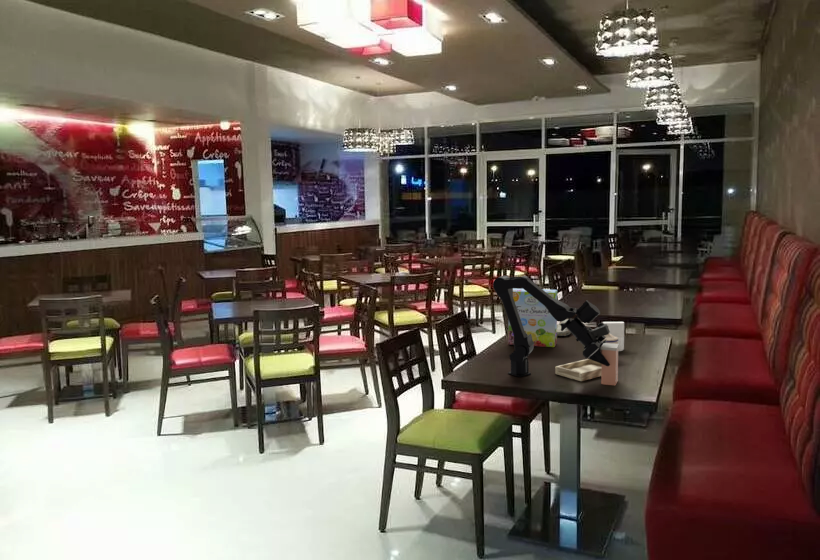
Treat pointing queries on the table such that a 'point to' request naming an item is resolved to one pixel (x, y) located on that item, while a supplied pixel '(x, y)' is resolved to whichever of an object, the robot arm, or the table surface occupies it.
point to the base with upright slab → (617, 332)
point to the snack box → (535, 319)
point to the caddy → (611, 371)
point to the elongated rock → (565, 331)
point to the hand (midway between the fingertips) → (610, 362)
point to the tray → (580, 370)
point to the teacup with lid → (611, 339)
